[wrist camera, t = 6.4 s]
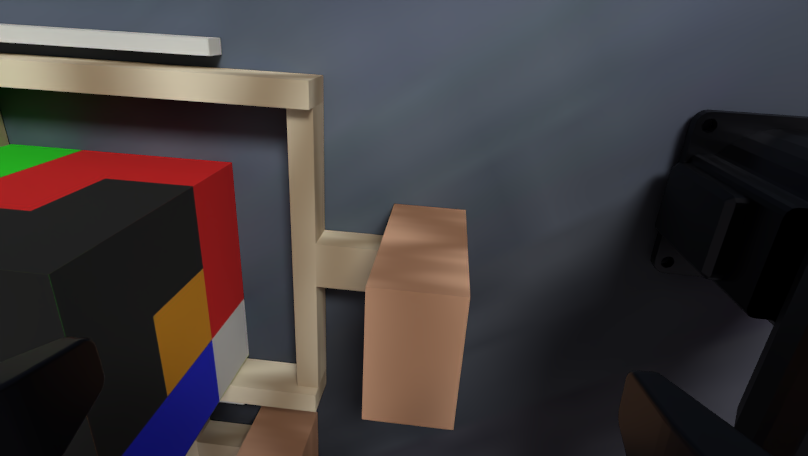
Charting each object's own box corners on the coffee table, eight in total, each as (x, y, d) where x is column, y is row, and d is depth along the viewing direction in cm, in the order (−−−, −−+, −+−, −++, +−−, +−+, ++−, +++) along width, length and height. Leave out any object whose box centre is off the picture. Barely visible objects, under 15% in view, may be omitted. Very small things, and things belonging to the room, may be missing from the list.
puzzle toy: (249, 353, 24) (123, 553, 15) (63, 333, 25) (-165, 511, 16) (232, 162, 20) (48, 274, 11) (12, 143, 21) (-333, 235, 12)
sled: (479, 85, 18) (492, 119, 12) (444, 396, 24) (440, 532, 17) (-39, 49, 19) (-284, 62, 13) (48, 350, 25) (-90, 461, 19)
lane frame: (220, 37, 18) (207, 38, 17) (260, 485, 28) (253, 501, 27) (-232, 8, 20) (-265, 7, 19) (-46, 445, 29) (-62, 458, 28)
